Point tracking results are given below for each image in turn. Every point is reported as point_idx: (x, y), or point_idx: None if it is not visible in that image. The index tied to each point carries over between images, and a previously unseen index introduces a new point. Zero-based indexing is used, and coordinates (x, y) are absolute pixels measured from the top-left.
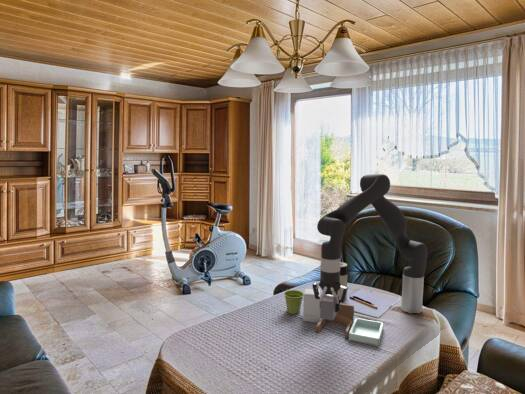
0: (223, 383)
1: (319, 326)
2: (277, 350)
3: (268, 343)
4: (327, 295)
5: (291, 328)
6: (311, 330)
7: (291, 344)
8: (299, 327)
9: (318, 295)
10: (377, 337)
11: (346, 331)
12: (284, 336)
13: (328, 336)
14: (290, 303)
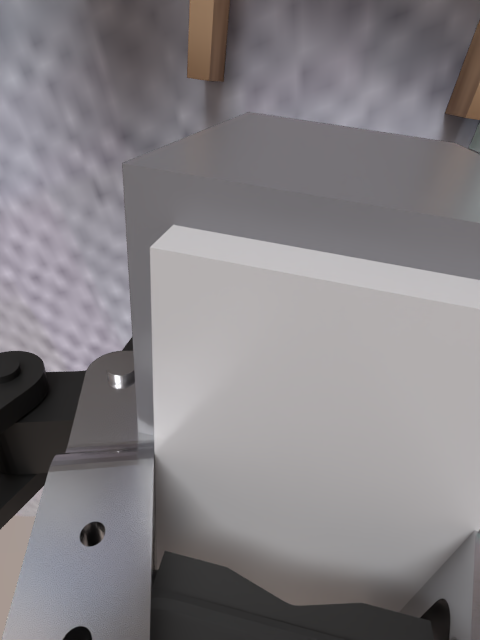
0: (37, 501)
1: (215, 44)
2: (76, 346)
3: (8, 298)
4: (224, 548)
5: (13, 62)
6: (160, 45)
7: (108, 286)
8: (56, 16)
9: (28, 451)
10: None
11: (477, 118)
12: (35, 206)
13: (306, 119)
14: None
